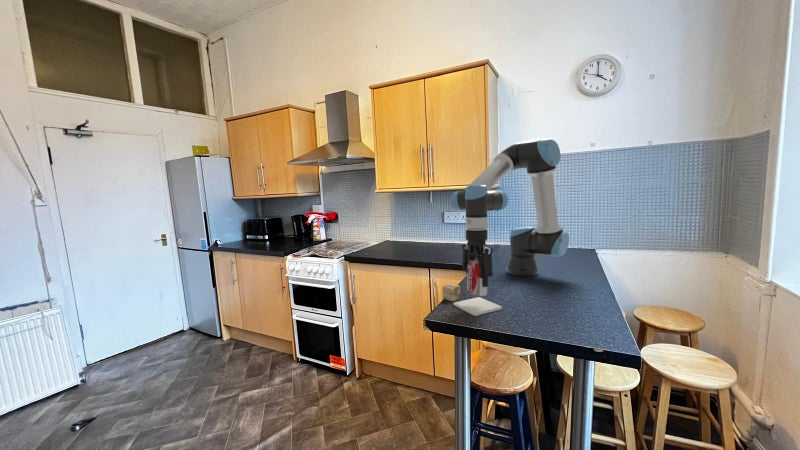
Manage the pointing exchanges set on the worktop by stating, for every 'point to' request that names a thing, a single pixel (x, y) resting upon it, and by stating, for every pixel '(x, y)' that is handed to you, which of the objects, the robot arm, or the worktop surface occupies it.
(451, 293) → the oak block
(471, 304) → the tile
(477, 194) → the robot arm
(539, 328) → the worktop surface
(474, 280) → the beverage can
